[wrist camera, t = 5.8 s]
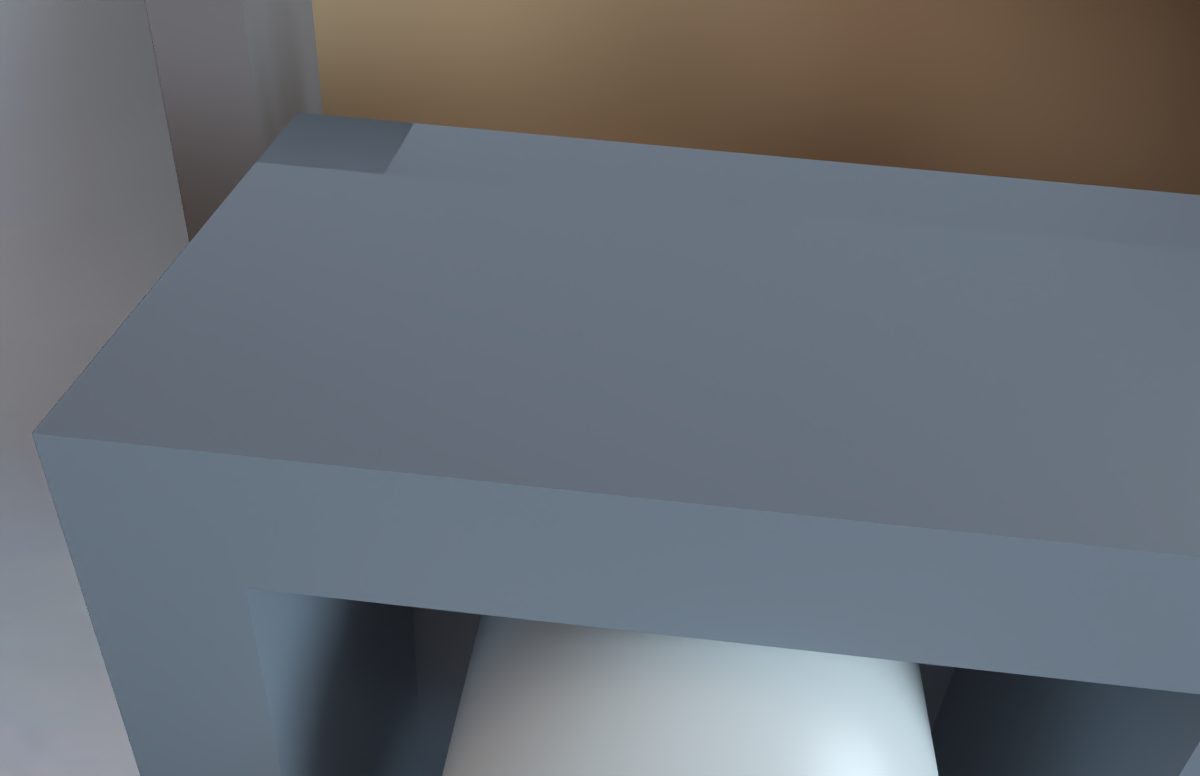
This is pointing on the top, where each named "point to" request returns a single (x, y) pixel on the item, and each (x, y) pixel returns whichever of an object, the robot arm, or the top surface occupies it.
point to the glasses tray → (646, 469)
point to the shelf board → (704, 80)
